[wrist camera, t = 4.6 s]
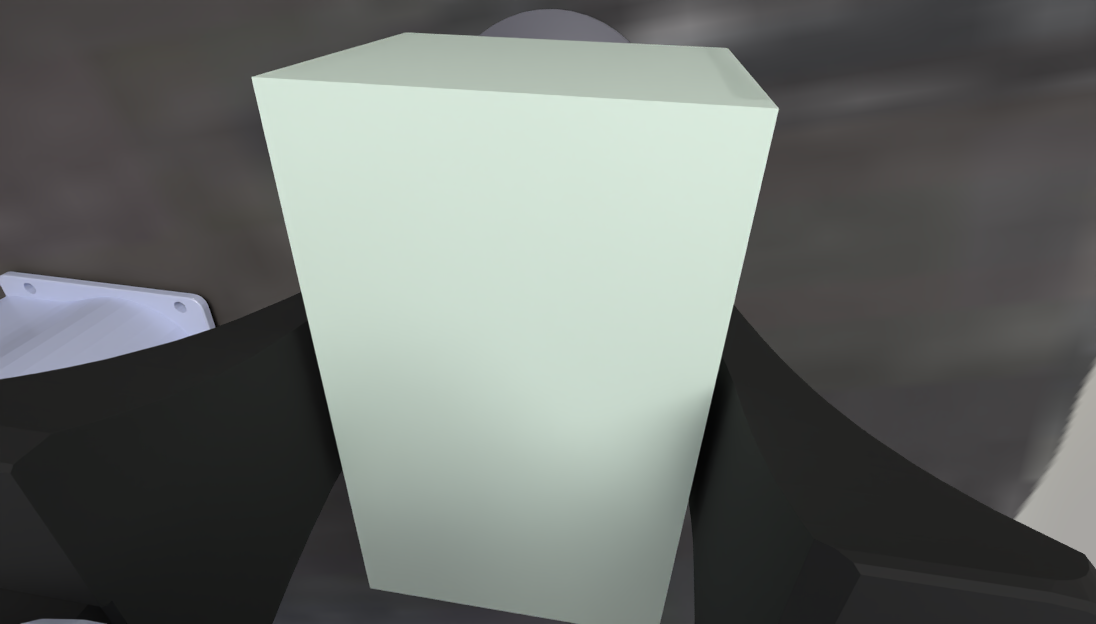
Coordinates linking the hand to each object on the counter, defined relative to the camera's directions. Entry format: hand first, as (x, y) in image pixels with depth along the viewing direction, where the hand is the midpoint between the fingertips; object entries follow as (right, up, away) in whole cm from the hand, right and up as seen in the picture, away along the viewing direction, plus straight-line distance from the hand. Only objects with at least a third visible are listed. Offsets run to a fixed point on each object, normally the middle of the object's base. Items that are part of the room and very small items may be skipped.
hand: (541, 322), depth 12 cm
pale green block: (0, +1, +1) cm, 2 cm away
